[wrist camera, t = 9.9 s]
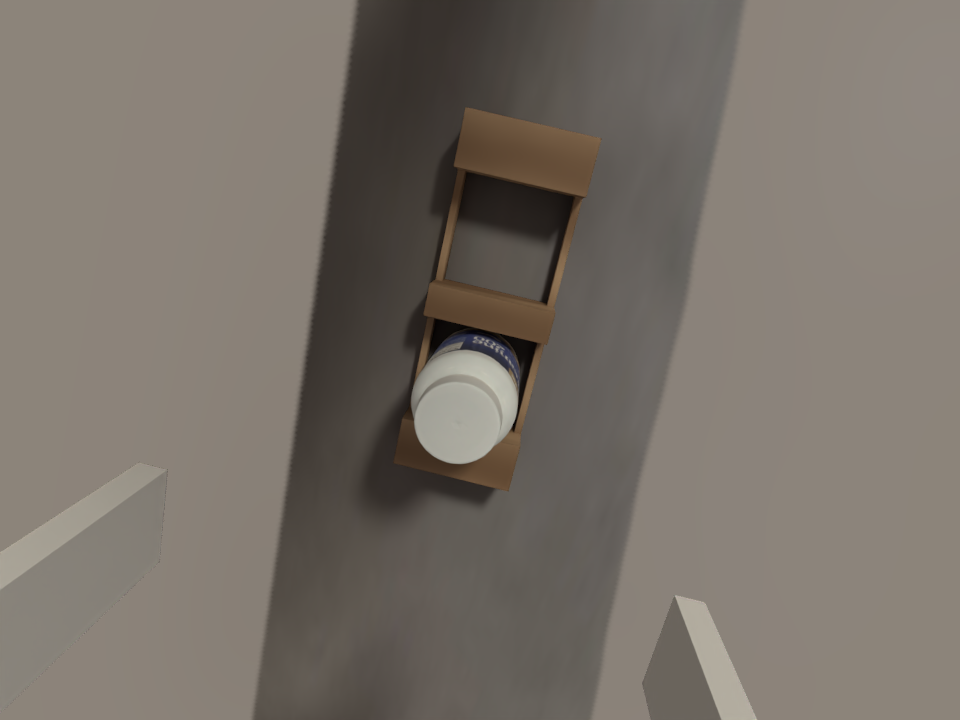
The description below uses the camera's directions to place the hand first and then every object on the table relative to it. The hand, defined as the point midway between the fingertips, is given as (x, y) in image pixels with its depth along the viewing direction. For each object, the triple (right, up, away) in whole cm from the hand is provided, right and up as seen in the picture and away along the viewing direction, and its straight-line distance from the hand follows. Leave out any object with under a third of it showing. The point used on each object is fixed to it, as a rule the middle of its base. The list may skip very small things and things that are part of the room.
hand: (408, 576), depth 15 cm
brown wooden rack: (+3, +9, +20) cm, 22 cm away
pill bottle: (+2, +5, +21) cm, 22 cm away
